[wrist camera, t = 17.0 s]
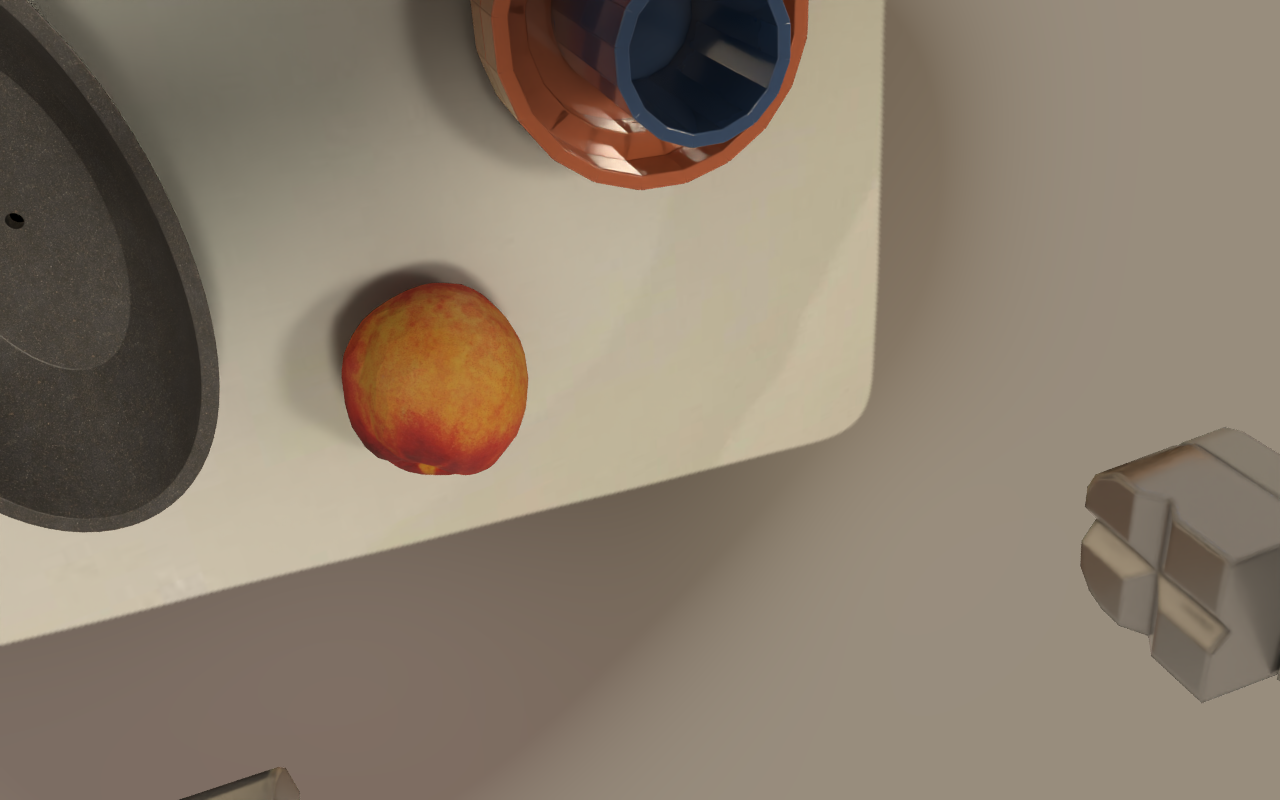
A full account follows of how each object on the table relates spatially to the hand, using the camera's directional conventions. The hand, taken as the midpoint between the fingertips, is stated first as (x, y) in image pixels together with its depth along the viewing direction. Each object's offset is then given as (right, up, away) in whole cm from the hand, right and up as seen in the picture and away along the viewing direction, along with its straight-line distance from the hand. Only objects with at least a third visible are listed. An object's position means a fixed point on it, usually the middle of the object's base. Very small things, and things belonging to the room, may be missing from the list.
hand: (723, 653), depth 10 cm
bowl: (-24, +10, +29) cm, 39 cm away
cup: (-1, +18, +31) cm, 36 cm away
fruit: (-11, +5, +36) cm, 38 cm away
